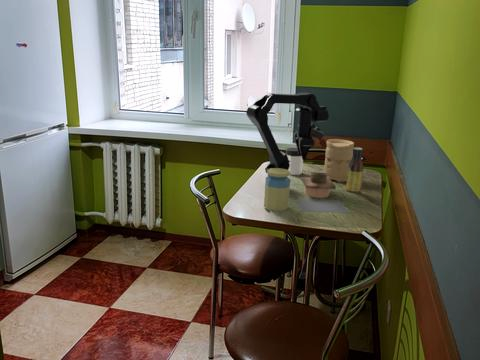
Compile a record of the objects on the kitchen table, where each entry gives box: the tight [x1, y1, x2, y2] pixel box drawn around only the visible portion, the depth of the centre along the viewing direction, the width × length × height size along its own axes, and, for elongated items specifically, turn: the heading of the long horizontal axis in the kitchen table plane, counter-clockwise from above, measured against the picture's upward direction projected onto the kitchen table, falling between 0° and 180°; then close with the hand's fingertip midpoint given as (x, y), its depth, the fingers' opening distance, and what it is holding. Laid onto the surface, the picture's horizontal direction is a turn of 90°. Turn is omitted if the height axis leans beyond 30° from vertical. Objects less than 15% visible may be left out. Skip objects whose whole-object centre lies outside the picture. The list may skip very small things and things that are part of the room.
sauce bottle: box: [345, 147, 364, 194], centre depth 190 cm, size 6×6×20 cm
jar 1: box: [263, 168, 291, 212], centre depth 166 cm, size 9×9×15 cm
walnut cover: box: [300, 171, 337, 190], centre depth 184 cm, size 12×12×5 cm
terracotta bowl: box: [304, 186, 331, 199], centre depth 186 cm, size 10×10×5 cm
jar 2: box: [285, 147, 304, 176], centre depth 218 cm, size 9×8×12 cm
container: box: [323, 138, 355, 183], centre depth 211 cm, size 13×13×18 cm
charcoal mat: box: [296, 198, 350, 214], centre depth 172 cm, size 18×14×1 cm
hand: (302, 157), depth 196 cm, fingers open, 9 cm apart
